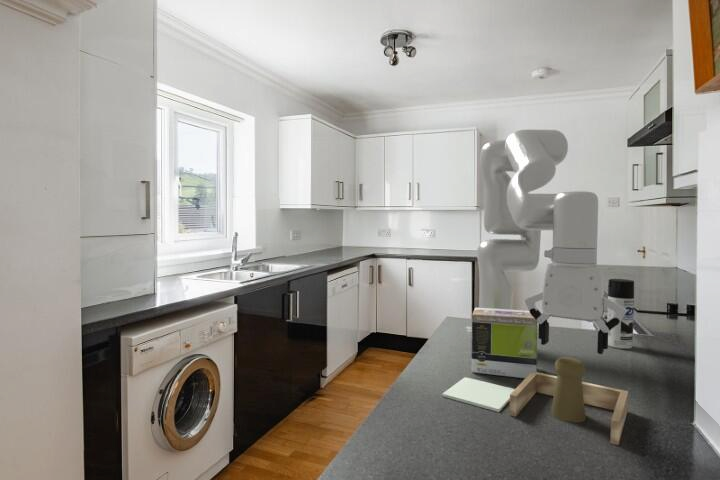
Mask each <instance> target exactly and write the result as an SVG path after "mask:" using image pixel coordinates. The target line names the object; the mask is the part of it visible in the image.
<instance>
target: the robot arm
mask: <svg viewBox="0 0 720 480" xmlns="http://www.w3.org/2000/svg"><path fill="white" fill-rule="evenodd" d="M568 151H569V144H568V140H567V138H566V136H565V134H564V133H563V132H562V131H560V130H557V129H519V130H517V131H516V130H515V131H514V132H512V133H511V134H509V136H508V137H507V138H506V139H505V140H504V139H503V140H501V139H499V140H493V141H489V142H487V143H485V144H484V145H483V146H482V147H481V150H480V153H479V168H480V173H481V177H482V179H483V184H484V198H483V199H484V201H483V202H484V203H483V204H484V205H483V226H484V228H483V229H484V230H485V232H487V233H488V234H492V235H499V236H500V235H501V236H502V235H503V236H504V235H506V236H508V235H510V236H519V237H520V239H513V238H512V239H509V238H496V239H495V238H493V239H491V238H490V239H485V240H483V241H482V242H480V243H479V244H478V247H477V249H476V257H477V264H478V274H479V277H478V278H479V280H478V281H479V283H478V284H479V289H478V290H479V293H478V294H479V296H478V308H495V309H511V310H513V304H514V303H513V300H514V299H513V298H514V295H513V294H514V287H513V284H512V282H511V280H510V279H509V278H508V277H507V275H506V274H505V273H506V272H507V273H509V272H512V273H513V272H521V273H522V272H523V273H524V272H525V273H526V272H527V273H528V272H533V271H534V270H536V268H538V266H539V263H540V256H541V255H540V253H541V240H542V239H541V236H542V234H541V233H542V231H552V247H551V249H549V250H544V253H543V254H544V255H543V256H544V258H548V259H550V260H551V263H548V264H547V266H546V269H545V273H544V280H543V287H542V292H541V293H540V292H539V293H538V294H535V295H533V296H530V297H528V298H525V299H524V303H525V305H526V307H527V309H528V311H530V314H531V315H532V316H533V317H534V318H535V319H536V320H537V325H538V340H540V345H542V346H544V345H546V344H549V341H550V323H549V322H548V319H549V318H550V317H552V318H559V319H560V318H561V319H567V320H568V319H569V320H574V321H575V320H576V321H585V322H594V324H596V326H597V327H598V328H599V330H598V332H597V349H596V350H597V351H596V352H597V354H598V355H603V353H604V351H605V350H608V349H609V346H608V331H609V330H611V329H612V328H614V327H615V326H616V325H618V324H619V323H620V321H621V320H622V318H623V317H624V315H625V314H626V312H627V310H626V308H624V307H622V306H620V305H618V304H617V303H615V302H613V301H611V300H609V299H608V297H605V292H604V291H605V288H604V279H603V277H604V276H603V271H602V267H601V265H597V264H598V261H597V260H598V227H599V198H598V196H597V194H596V193H594V192H591V191H583V190H581V191H579V190H577V191H575V190H574V191H565V192H559V193H531V192H534V191H536V190H538V189H540V188H543V187H544V186H546V185H547V184H549V183H550V182H551V181H552V180H553V178H554V177H555V175H556V170H557V169H556V166H558V165H560V164H561V163H562V162H563V161H564V160H565V158H566V157H567V155H568ZM507 172H512V173H514V175H512V177H511V176H510V175H509V174H508V173H507ZM539 301H541V311H542V312H541V311H540V310H539V309H538V308H537V307H536V303H537V302H539ZM605 307H606V308H607V309H608V308H609V309H611V310H613V311H615V313H616V314H615V316H614V317H613V318H612V319H611V320H610V321H608V322H607V319H605V317H604V313H605ZM465 333H466V335H472V326H466V327H465Z"/></svg>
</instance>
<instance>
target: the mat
mask: <svg viewBox="0 0 720 480" xmlns="http://www.w3.org/2000/svg"><path fill="white" fill-rule="evenodd" d="M515 389H516V388H512V387H507V386H502V385H499V384H495V383H492V382H487V381H482V380H479V379H475V378H470V377H466V376H464V377H463V378H461V379H460V380H459V381H457V382H456V383H455V384H453V385H452V386H451V387H450V388H449V387H448V389H447V390H445V391H444V392H442V394H441V396H442V397H443V398H447V399H450V400H453V401H457V402H460V403H461V402H462V403H464V404H469V405H472V406H474V407H475V406H476V407H479V408H483V409H487V410H490V411H493V412H496V413H497V412H498V413H500V412H501V411H502V409H503V408H505V406H506V405H507V404H508V403H510V394H511V393H512V392H513V391H514V390H515Z"/></svg>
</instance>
